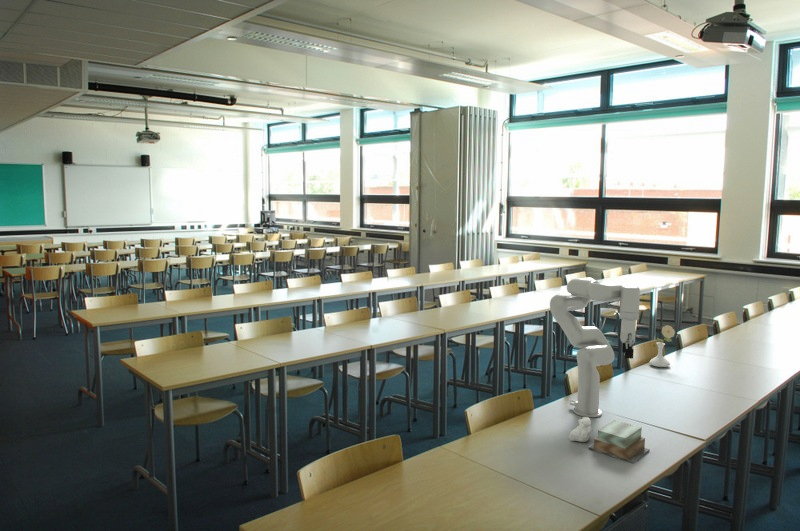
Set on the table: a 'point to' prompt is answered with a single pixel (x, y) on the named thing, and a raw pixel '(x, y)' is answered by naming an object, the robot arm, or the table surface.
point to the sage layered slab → (620, 441)
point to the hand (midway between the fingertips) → (627, 355)
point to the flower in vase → (659, 359)
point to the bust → (582, 430)
